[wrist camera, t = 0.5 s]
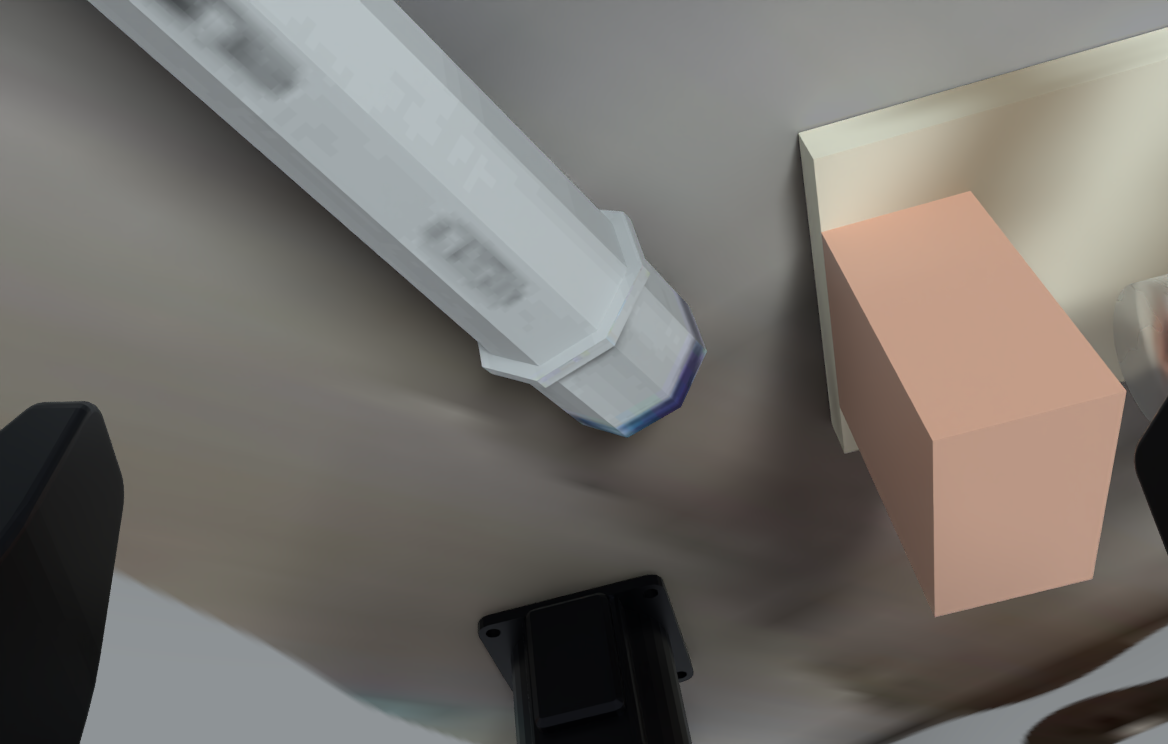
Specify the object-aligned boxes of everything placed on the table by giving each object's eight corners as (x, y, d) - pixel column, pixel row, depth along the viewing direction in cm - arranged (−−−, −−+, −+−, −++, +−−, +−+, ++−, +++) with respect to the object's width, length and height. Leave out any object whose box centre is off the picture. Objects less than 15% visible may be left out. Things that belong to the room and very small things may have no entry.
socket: (970, 190, 23) (1126, 391, 18) (966, 373, 27) (1092, 578, 22) (821, 232, 23) (932, 441, 18) (839, 406, 27) (934, 617, 22)
